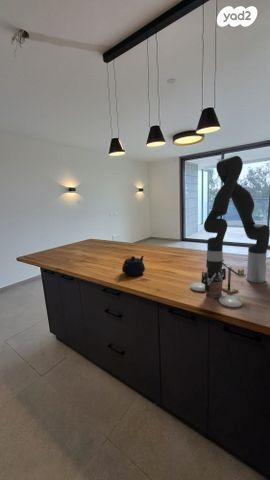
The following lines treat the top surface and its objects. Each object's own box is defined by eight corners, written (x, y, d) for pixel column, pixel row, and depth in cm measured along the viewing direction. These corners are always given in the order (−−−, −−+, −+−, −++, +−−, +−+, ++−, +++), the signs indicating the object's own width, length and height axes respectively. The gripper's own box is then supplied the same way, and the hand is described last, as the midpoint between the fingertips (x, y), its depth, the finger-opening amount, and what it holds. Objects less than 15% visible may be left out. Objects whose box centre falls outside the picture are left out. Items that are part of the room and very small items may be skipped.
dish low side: (228, 296, 106) (228, 293, 106) (247, 304, 97) (247, 301, 97) (214, 301, 102) (214, 298, 101) (232, 310, 93) (232, 307, 93)
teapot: (133, 281, 132) (132, 262, 130) (114, 277, 141) (113, 259, 139) (153, 269, 153) (152, 253, 150) (135, 266, 161) (134, 251, 159)
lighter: (220, 293, 110) (220, 275, 108) (223, 296, 107) (223, 277, 105) (204, 294, 110) (205, 275, 108) (207, 297, 107) (207, 278, 105)
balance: (219, 284, 122) (219, 258, 119) (247, 295, 106) (248, 265, 104) (212, 286, 120) (213, 259, 117) (240, 297, 104) (241, 267, 101)
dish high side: (200, 283, 124) (200, 281, 123) (213, 289, 115) (213, 287, 115) (186, 287, 119) (186, 284, 119) (199, 293, 111) (199, 291, 110)
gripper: (218, 255, 111) (217, 284, 114) (198, 259, 105) (197, 290, 108) (230, 258, 105) (229, 289, 108) (209, 262, 99) (208, 295, 101)
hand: (213, 289), depth 108 cm, fingers open, 8 cm apart
